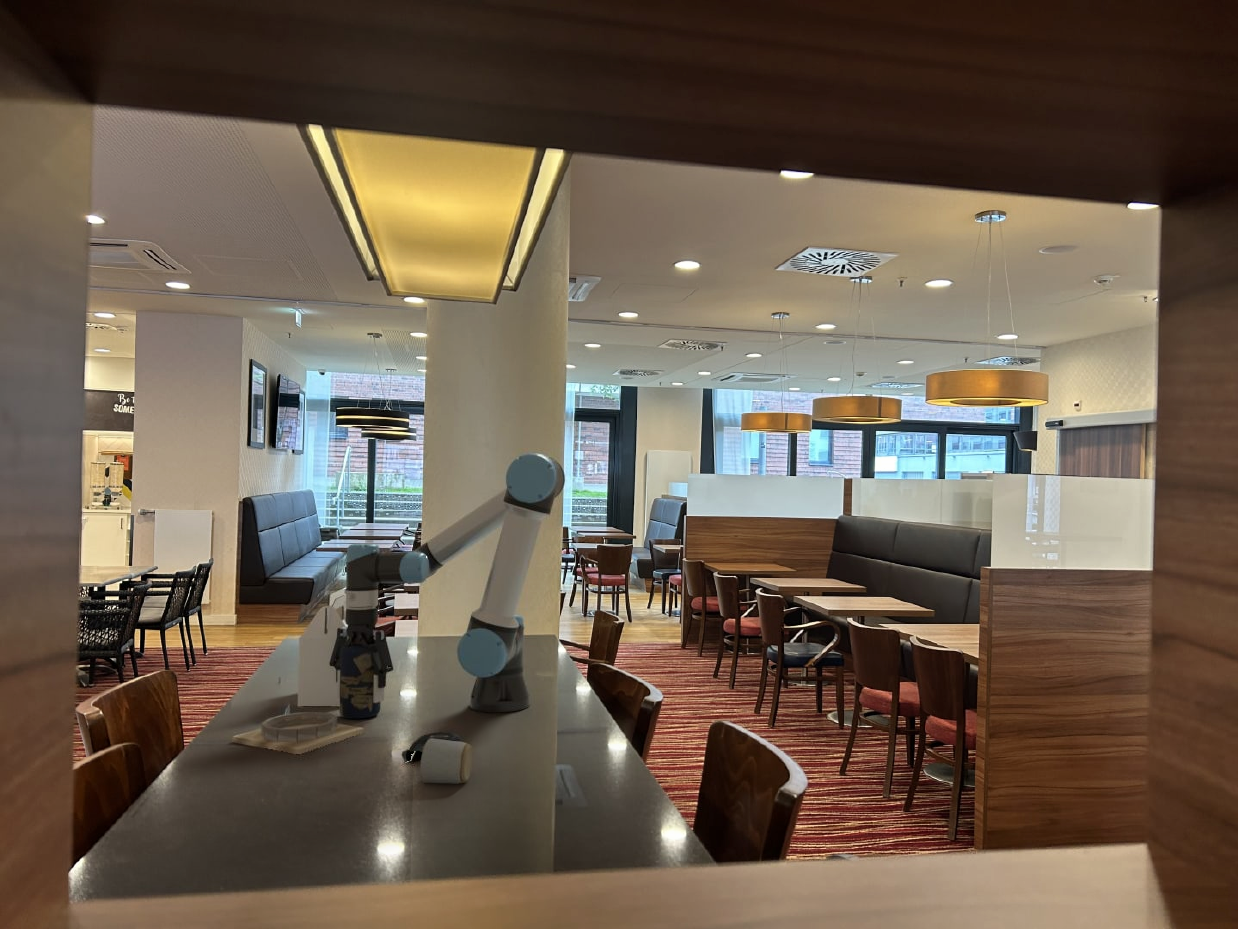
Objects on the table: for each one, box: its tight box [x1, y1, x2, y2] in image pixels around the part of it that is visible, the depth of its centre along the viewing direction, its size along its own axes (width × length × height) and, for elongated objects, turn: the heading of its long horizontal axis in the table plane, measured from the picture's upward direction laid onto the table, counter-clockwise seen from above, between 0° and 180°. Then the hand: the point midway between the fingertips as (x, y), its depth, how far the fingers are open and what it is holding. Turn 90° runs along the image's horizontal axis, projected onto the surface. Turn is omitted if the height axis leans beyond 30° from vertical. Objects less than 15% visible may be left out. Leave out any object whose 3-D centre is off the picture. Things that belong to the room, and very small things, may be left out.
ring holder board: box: [232, 711, 365, 755], centre depth 180 cm, size 20×18×4 cm
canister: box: [339, 644, 382, 719], centre depth 199 cm, size 10×10×18 cm
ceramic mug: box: [419, 738, 474, 785], centre depth 153 cm, size 11×8×8 cm
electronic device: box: [401, 731, 462, 763], centre depth 169 cm, size 9×6×15 cm
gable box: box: [297, 588, 349, 707], centre depth 219 cm, size 22×13×28 cm, turn 6°
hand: (360, 699), depth 199 cm, fingers open, 11 cm apart
